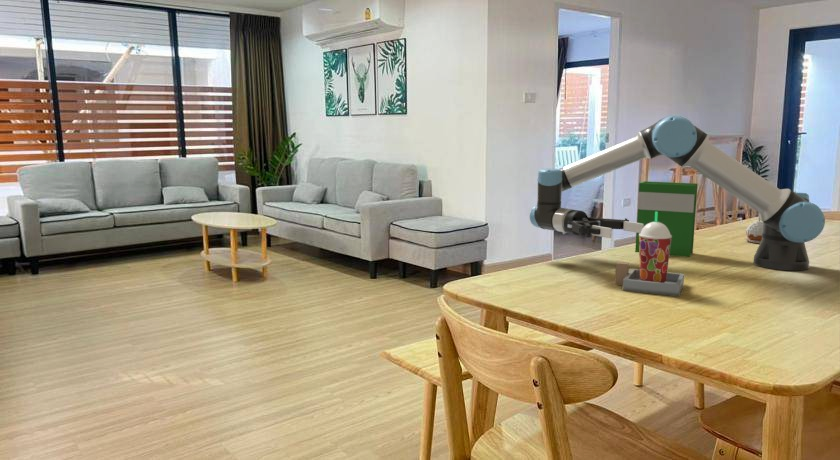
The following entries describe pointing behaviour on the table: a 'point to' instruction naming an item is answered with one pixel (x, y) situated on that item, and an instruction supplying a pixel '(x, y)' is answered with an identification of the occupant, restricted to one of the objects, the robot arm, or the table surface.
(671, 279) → the tray
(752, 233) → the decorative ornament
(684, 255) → the hardback book
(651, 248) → the smoothie
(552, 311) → the table surface
